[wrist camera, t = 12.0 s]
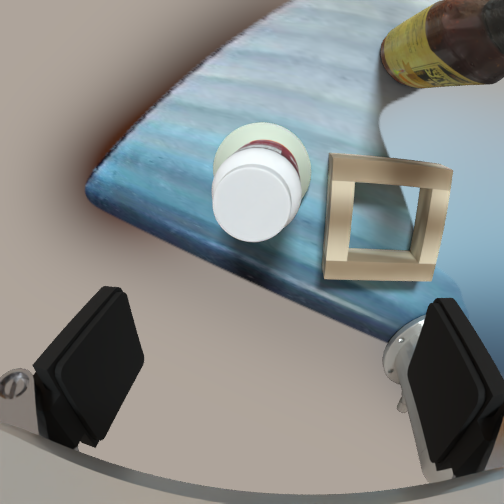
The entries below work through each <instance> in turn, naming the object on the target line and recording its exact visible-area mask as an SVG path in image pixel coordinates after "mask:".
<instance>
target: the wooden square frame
mask: <svg viewBox="0 0 504 504" xmlns="http://www.w3.org/2000/svg"><path fill="white" fill-rule="evenodd" d="M452 175H453V170H452V169H449V168H447V167H445V166H443V165H441V164H437V163H429V162H422V161H414V160H406V159H397V158H388V157H378V156H367V155H354V154H340V153H329V169H328V189H327V205H326V220H325V233H324V245H323V256H322V269H323V275H324V279H339V280H380V281H432V277H433V273H434V269H435V265H436V261H437V257H438V253H439V248H440V244H441V239H442V234H443V230H444V225H445V219H446V214H447V208H448V202H449V196H450V189H451V182H452ZM355 182H363V183H377V184H389V185H400V186H410V187H420V192H419V199H418V206H417V213H416V219H415V225H414V231H413V236H412V242H411V247H410V251H407V250H383V249H358V248H349V240H350V231H351V221H352V211H353V200H354V188H355Z"/></svg>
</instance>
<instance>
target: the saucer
mask: <svg viewBox="0 0 504 504" xmlns="http://www.w3.org/2000/svg"><path fill="white" fill-rule="evenodd" d="M262 139H266V140H272V141H276V142H278V143H280V144H282V145H284V146H285V147H286V148H287V149H288V150H289V151H290V152H291V153H292V154H293V156H294V158H295V159H296V162H297V165H298V169H299V175H300V181H301V188H302V198H303V197H304V195H305V193H306V191H307V189H308V186H309V183H310V179H311V164H310V159H309V156H308V153H307V151H306V149H305V147H304V145H303V144H302V142H301V141H300V140H299V138H298V137H297V136H296V135H294V134H293V133H292V132H291V131H289V130H288V129H286V128H284V127H282V126H280V125H277V124H273V123H266V122H258V123H252V124H248V125H245V126H242V127H240V128H238V129H236V130H235V131H233V132H232V133H230V134H229V135H228V136H227V137H226V138H225V139H224V140H223V142H222V143H221V145H220V146H219V148H218V150H217V152H216V155H215V159H214V164H213V174H214V176H215V174H216V172H217V170H218V168H219V167H220V166H221V164H222V163H223V162H224V161H225V160H226V159H227V158H228V157H229V156H231V155H232V154H233V153H235V152H236V151H237V150H238V149H240V148H241V147H242V146H244V145H245V144H247V143H249V142H251V141H255V140H262ZM302 198H301V199H302Z"/></svg>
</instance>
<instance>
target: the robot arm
mask: <svg viewBox="0 0 504 504" xmlns="http://www.w3.org/2000/svg"><path fill="white" fill-rule="evenodd" d="M143 363H144V354H143V351H142V348H141V344H140V341H139V337H138V334H137V331H136V327H135V324H134V320H133V316H132V312H131V309H130V305H129V302H128V298H127V294H126V293H124V292H123V291H122V289H121V288H119V287H109V286H104V287H102V288H101V289H100V290H99V291H98V292H97V293H96V294H95V295H94V296H93V297H92V298H91V299H90V301H89V302H88V303H87V304H86V305H85V306H84V307H83V308H82V309H81V311H79V313H78V314H77V315H76V316H75V317H74V318H73V319H72V320H71V321H70V322H69V323H68V325H67V326H66V327H65V328H64V329H63V330H62V331H61V333H60V334H59V335H58V336H57V337H56V338H55V339H54V341H53V342H52V343H51V344H50V345H49V346H48V348H47V349H46V350H45V351H44V352H43V354H42V355H41V356H40V357H39V358H38V359H37V361H36V362H35V363H34V364H33V367H34V369H35V371H36V373H35V374H34V375H32V373H31V372H30V371H28V370H26V369H22V368H18V369H13V370H10V371H8V372H6V373H5V374H3V375H2V376H1V377H0V504H504V380H503V378H502V376H501V374H500V372H499V370H498V368H497V367H496V365H495V363H494V361H493V360H492V358H491V356H490V354H489V353H488V351H487V349H486V348H485V346H484V344H483V343H482V341H481V339H480V338H479V336H478V335H477V333H476V331H475V330H474V328H473V327H472V325H471V323H470V322H469V320H468V319H467V317H466V316H465V314H464V313H463V311H462V310H461V308H460V307H459V305H458V304H457V302H456V301H455V300H454V299H453V298H437V299H435V300H434V302H433V303H430V304H429V306H428V309H427V312H426V315H424V316H421V317H419V318H417V319H414V320H412V321H411V322H409V323H408V324H406V325H405V326H404V327H402V328H401V329H400V330H399V331H398V332H397V333H396V334H395V335H394V336H393V337H392V338H391V340H390V341H389V343H388V344H387V346H386V348H385V351H384V354H383V367H384V371H385V373H386V375H387V377H388V378H389V379H390V380H391V381H393V382H395V383H398V384H400V385H401V388H402V397H401V399H400V401H399V403H398V405H397V410H398V411H399V412H401V413H405V412H407V411H408V414H409V417H410V421H411V425H412V430H413V434H414V438H415V442H416V447H417V451H418V456H419V460H420V464H421V469H422V472H423V475H424V476H425V478H426V479H427V481H428V482H429V484H424V485H418V486H412V487H406V488H399V489H392V490H384V491H376V492H365V493H352V494H329V495H292V494H269V493H257V492H246V491H237V490H229V489H221V488H215V487H208V486H202V485H196V484H191V483H186V482H181V481H176V480H171V479H167V478H162V477H158V476H154V475H151V474H147V473H143V472H139V471H136V470H132V469H129V468H125V467H122V466H119V465H116V464H112V463H109V462H106V461H103V460H100V459H98V458H95V457H92V456H89V455H86V454H84V453H81V452H79V450H78V444H79V442H80V441H81V442H82V443H84V444H87V445H89V446H92V447H96V446H97V444H98V442H99V440H100V441H101V440H103V439H104V438H105V436H106V434H107V432H108V430H109V428H110V426H111V424H112V422H113V420H114V419H115V417H116V415H117V413H118V411H119V409H120V407H121V405H122V403H123V401H124V399H125V398H126V396H127V394H128V392H129V390H130V388H131V386H132V385H133V383H134V381H135V379H136V377H137V375H138V373H139V372H140V370H141V368H142V366H143Z"/></svg>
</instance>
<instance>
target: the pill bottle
mask: <svg viewBox="0 0 504 504" xmlns="http://www.w3.org/2000/svg"><path fill="white" fill-rule="evenodd" d="M301 198H302V188H301V181H300V175H299V169H298V165H297V162H296V159H295V158H294V156H293V154H292V153H291V152H290V151H289V150H288V149H287V148H286V147H285V146H284V145H282V144H280V143H278V142H276V141H272V140H266V139H262V140H255V141H251V142H249V143H247V144H245V145H244V146H242V147H241V148H240V149H238V150H237V151H236V152H235V153H233V154H232V155H231V156H229V157H228V158H227V159H226V160H225V161H224V162H223V163H222V164H221V166H220V167H219V168H218V170H217V172H216V174H215V176H214V180H213V184H212V199H213V211H214V215H215V217H216V220H217V221H218V223H219V225H220V226H221V227H222V229H223V230H224V231H226V232H227V233H228V234H229V235H231V236H232V237H234V238H236V239H239V240H242V241H246V242H260V241H264V240H267V239H270V238H272V237H274V236H275V235H277V234H278V233H279V232H280V231H281V230H282V229H283V228H284V227H286V226H287V225H288V224H289V223H290V222H291V221H292V219H293V218H294V217H295V215H296V214H297V212H298V209H299V207H300V203H301Z"/></svg>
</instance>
